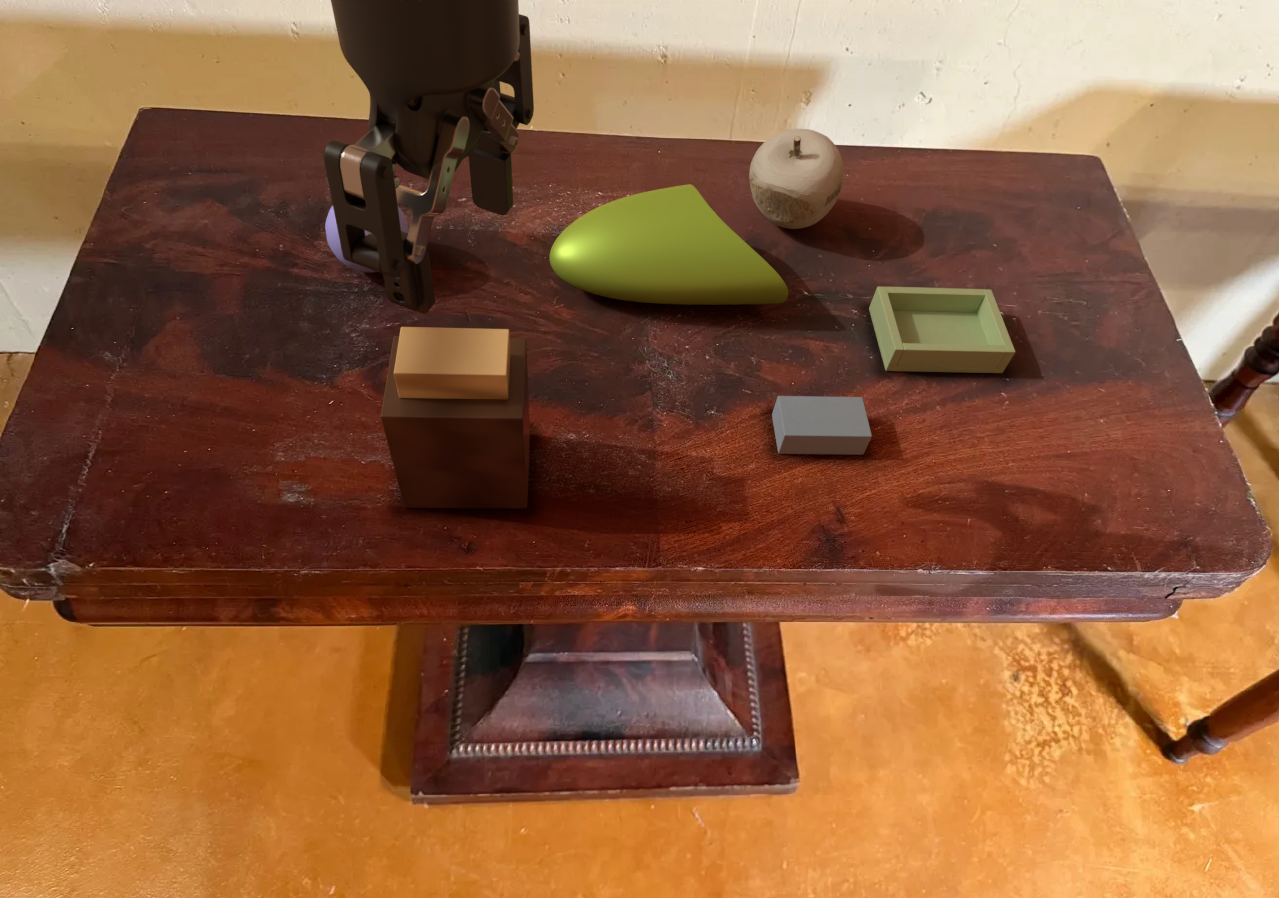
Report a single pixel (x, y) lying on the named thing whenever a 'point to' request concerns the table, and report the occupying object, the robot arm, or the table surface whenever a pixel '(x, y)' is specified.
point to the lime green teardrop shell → (663, 253)
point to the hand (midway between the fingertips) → (455, 253)
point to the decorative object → (796, 177)
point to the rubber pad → (821, 425)
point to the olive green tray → (940, 330)
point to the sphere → (335, 241)
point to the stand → (461, 444)
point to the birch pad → (453, 363)
